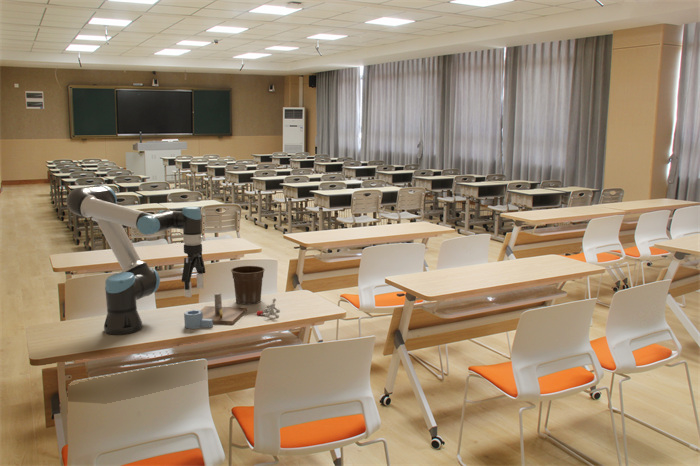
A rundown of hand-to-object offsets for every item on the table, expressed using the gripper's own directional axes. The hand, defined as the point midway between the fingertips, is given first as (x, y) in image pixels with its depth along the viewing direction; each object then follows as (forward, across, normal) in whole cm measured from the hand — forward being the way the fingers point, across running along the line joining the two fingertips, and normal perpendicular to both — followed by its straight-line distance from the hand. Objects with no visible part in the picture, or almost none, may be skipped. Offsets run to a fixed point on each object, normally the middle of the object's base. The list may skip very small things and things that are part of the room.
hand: (194, 292), depth 252 cm
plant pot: (+15, +39, -12) cm, 44 cm away
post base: (+15, +13, -6) cm, 21 cm away
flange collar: (+15, -1, -2) cm, 15 cm away
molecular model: (+15, +19, -28) cm, 37 cm away
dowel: (+13, +8, -9) cm, 18 cm away
